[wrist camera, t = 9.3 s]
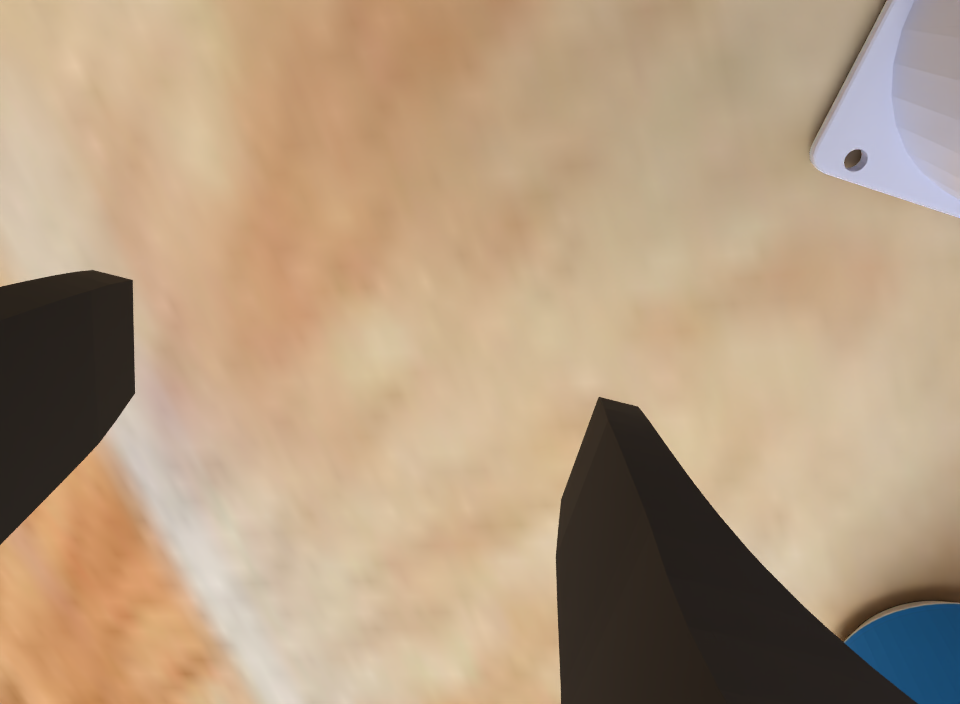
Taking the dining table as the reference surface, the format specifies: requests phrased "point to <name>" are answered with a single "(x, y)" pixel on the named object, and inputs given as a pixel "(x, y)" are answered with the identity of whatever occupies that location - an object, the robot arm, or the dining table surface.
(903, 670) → the beverage can
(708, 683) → the robot arm
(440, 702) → the dining table surface
